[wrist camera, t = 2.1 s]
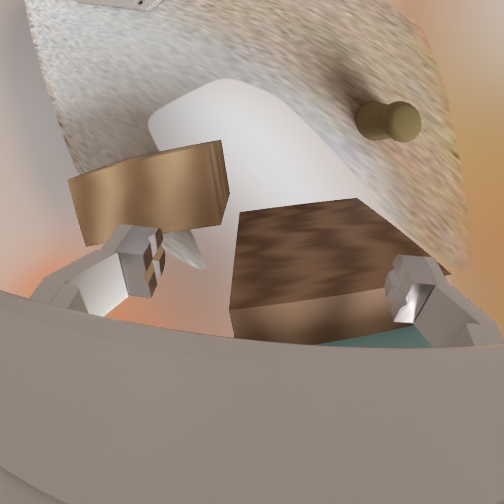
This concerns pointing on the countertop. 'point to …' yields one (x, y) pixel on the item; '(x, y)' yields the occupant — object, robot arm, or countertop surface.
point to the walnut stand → (315, 273)
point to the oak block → (153, 192)
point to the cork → (388, 121)
